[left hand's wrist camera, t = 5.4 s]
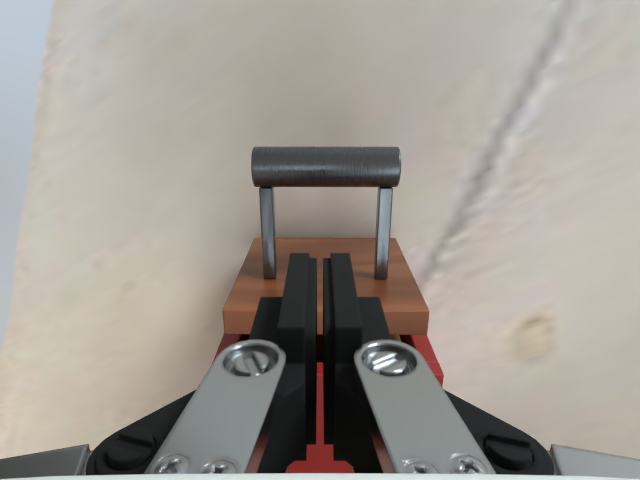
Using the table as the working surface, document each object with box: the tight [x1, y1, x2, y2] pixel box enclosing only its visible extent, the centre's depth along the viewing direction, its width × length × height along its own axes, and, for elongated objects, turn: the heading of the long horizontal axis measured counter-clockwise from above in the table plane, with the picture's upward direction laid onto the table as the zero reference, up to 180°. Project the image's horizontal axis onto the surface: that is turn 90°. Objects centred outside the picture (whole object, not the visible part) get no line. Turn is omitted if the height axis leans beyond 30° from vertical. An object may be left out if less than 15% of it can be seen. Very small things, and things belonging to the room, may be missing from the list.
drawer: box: [223, 147, 429, 362], centre depth 24 cm, size 22×9×9 cm, turn 0°
